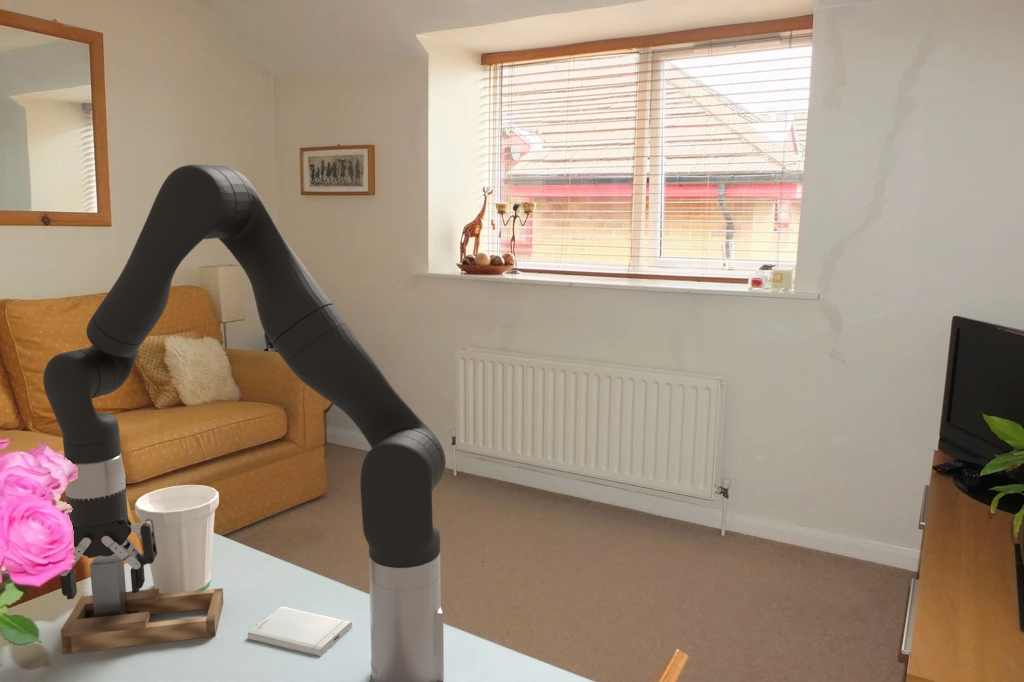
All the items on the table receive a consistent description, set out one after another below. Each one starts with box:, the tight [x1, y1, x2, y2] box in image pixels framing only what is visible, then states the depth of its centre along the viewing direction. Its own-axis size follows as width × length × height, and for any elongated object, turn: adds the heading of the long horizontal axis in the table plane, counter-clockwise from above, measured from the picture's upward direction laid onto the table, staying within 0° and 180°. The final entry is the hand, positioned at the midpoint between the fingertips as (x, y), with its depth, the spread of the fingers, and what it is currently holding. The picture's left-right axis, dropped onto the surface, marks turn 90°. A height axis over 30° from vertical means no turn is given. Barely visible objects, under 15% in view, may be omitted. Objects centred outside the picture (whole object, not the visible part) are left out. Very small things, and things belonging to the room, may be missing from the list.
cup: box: [134, 484, 220, 594], centre depth 124 cm, size 12×12×15 cm
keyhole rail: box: [60, 587, 225, 654], centre depth 112 cm, size 20×10×4 cm, turn 104°
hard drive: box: [247, 606, 353, 657], centre depth 112 cm, size 2×8×12 cm
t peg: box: [89, 554, 139, 618], centre depth 111 cm, size 6×6×11 cm
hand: (104, 593), depth 110 cm, fingers open, 8 cm apart
